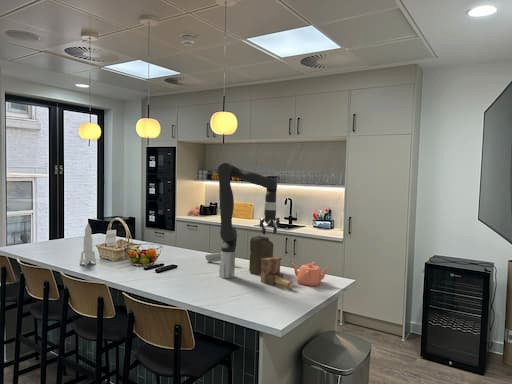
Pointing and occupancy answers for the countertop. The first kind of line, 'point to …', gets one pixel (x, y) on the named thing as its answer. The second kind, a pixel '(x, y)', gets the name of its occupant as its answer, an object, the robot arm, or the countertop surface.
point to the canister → (259, 252)
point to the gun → (213, 257)
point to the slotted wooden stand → (270, 269)
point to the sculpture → (88, 247)
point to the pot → (309, 274)
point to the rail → (283, 283)
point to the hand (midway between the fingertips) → (269, 233)
